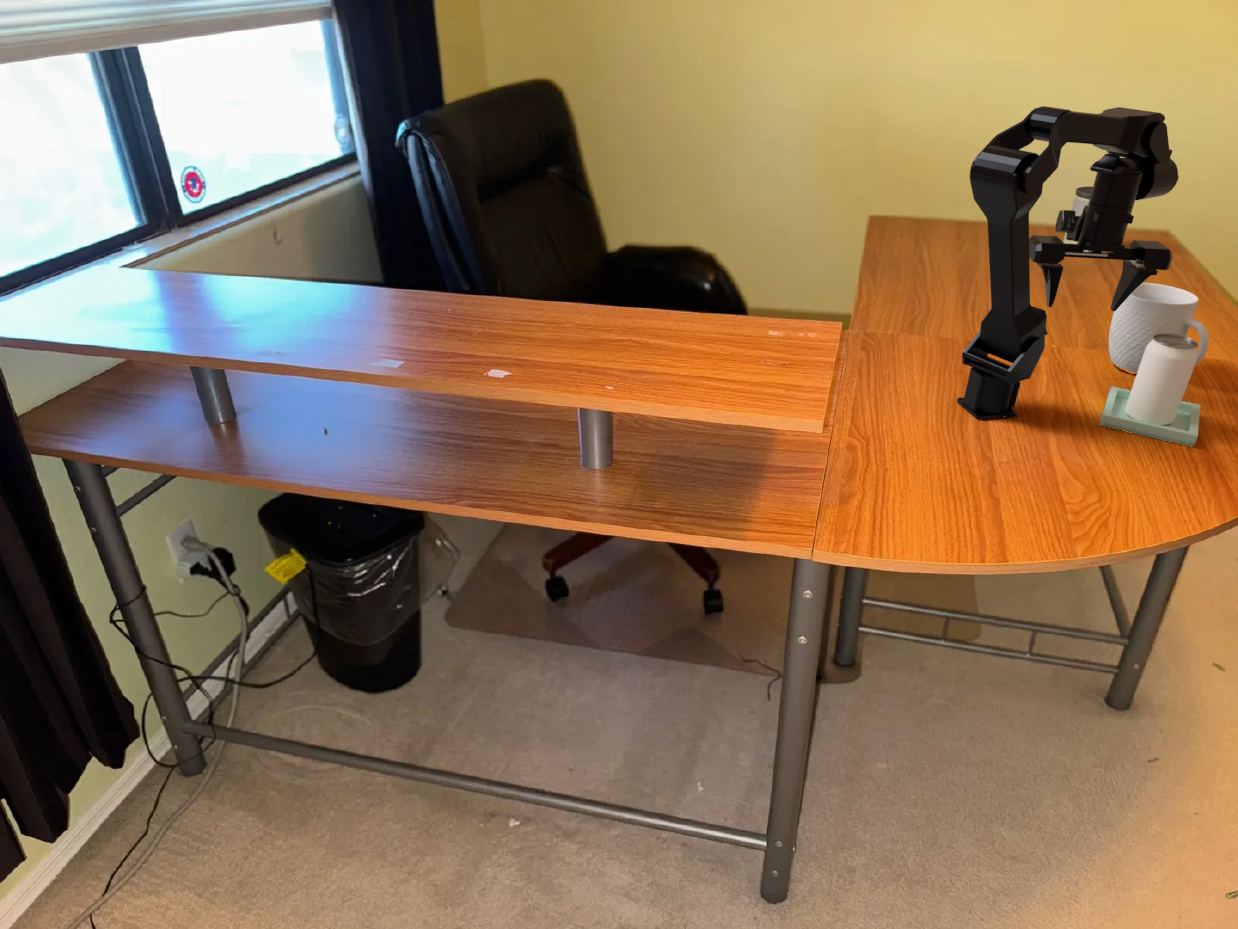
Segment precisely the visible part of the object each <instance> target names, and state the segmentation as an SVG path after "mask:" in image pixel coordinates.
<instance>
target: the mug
mask: <svg viewBox="0 0 1238 929" xmlns="http://www.w3.org/2000/svg"><path fill="white" fill-rule="evenodd" d="M1198 304H1199V297H1198V296H1197V295H1195V294H1194V293H1192V292H1190V291H1188V290H1186V289H1182V288H1179V287H1175V286H1170V285H1166V284H1162V283H1161V284H1160V283H1152V282H1143V283H1142V284H1140V285H1139V286H1138V287H1137V288H1136V289H1135V290H1134V291H1133V292H1132V293H1131V294H1130V295H1129V297H1128V298H1127V299H1126V300H1125V301H1124V302H1123V303H1122V304H1121V305H1120V307H1119V308H1118V309H1117V310H1116V311H1113V314H1112V319H1111V323H1110V327H1109V333H1108V353H1109V356H1110V361H1111V363H1112V362H1113V363H1114V364H1115V365H1116V366H1118V367H1120V368H1123V369H1126V370H1129V371H1131V372H1135V373H1137V372H1138V369H1139V366H1140V363H1141V360H1142V357H1143V354H1144V351H1145V349H1146V346H1147V345H1148V344H1149V343H1150V342H1151V341H1152V339H1153V336H1154V335H1156V334H1160V333H1168V334H1176V335H1181V336H1185V337H1187V335H1188V332H1189V330H1190V327H1191V328H1193V329H1195V331H1197V334H1198V336H1199V345H1198V349H1197V353H1198V357H1197V360H1196V363H1195V366H1196V365H1198V364H1199V363H1200V362H1201V361H1202V360H1203V358H1204V357H1205V356H1206V354H1207V352H1208V348H1209V345H1210V336H1209V332H1208V330H1207V327H1206V326H1205V325H1204V324H1203V323H1202V322H1201V321H1199V320H1198V319H1195V318H1194V316H1195V314H1196V309H1197V306H1198Z"/></svg>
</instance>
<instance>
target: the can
mask: <svg viewBox="0 0 1238 929" xmlns="http://www.w3.org/2000/svg"><path fill="white" fill-rule="evenodd" d="M1198 348H1199V343H1198V342H1197V341H1196V340H1194V339H1193V338H1190V337H1188V336H1181V335H1176V334H1168V333H1160V334H1156V335H1154V336H1153V339H1152V341H1151V342H1150V343H1149V344H1148V345H1147V346H1146V349H1145V351H1144V354H1143V357H1142V360H1141V363H1140V366H1139V369H1138V372H1137V375H1135V378H1134V381H1133V384H1132V386H1131V389H1130V390H1131V393H1130V396H1129V399H1128V402H1127V405H1126V408H1125V412H1126V413H1127V415H1128V416H1129V417H1130V418H1131V419H1136V420H1140V421H1144V422H1149V423H1153V424H1158V425H1162V426H1166V425H1169V424H1170V423H1172V422H1174V420H1175V417H1176V415H1177V412H1178V409H1179V407H1180V404H1181V401H1183V399H1184V395H1185V392H1186V389H1187V388H1188V384H1189V382H1190V379H1191V376H1192V374H1193V371H1194V368H1195V366H1196V365H1195V363H1196V360H1197V357H1198V353H1197V352H1198Z"/></svg>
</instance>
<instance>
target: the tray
mask: <svg viewBox="0 0 1238 929" xmlns="http://www.w3.org/2000/svg"><path fill="white" fill-rule="evenodd" d="M1131 390H1132V389H1126V388H1122V387H1116V386H1112V385H1111V386H1110V389H1109V391H1108V395H1107V399H1106V402H1105V404H1104V407H1105V408H1103V411H1102V414H1101V417H1100V421H1099V425H1101V426H1104V427H1103V428H1106V427H1110V428H1114V429H1119V430H1125V431H1128V432H1132V433H1135V434H1134V435H1136V434H1140V435H1143V436H1142V437H1145V436H1147V437H1146V438H1149V437H1151V438H1150V439H1153V438H1155V440H1158V439H1159V441H1162V442H1166V441H1168V442H1167V443H1171V442H1176V443H1180V444H1184V445H1188V446H1192V447H1193V448H1194V447H1195V444H1196V442H1197V439H1198V436H1199V428H1200V426H1199V425H1200V414H1201V404H1199V403H1193V402H1188V401H1183V400H1182V401H1181V404H1180V407H1179V409H1178V412H1177V415H1176V417H1175V420H1174V422H1172V423H1170V424H1169V425H1166V426H1162V425H1158V424H1153V423H1149V422H1144V421H1140V420H1136V419H1131V418H1130V417H1129V416H1128V415H1127V413H1126V412H1125V408H1126V405H1127V402H1128V399H1129V396H1130V393H1131ZM1099 425H1098V426H1099ZM1101 426H1100V427H1101ZM1110 428H1109V429H1110ZM1114 429H1113V430H1114ZM1119 430H1118V431H1119ZM1132 433H1131V434H1132ZM1140 435H1139V436H1140ZM1184 445H1183V446H1184ZM1188 446H1187V447H1188ZM1192 447H1191V448H1192Z"/></svg>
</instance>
